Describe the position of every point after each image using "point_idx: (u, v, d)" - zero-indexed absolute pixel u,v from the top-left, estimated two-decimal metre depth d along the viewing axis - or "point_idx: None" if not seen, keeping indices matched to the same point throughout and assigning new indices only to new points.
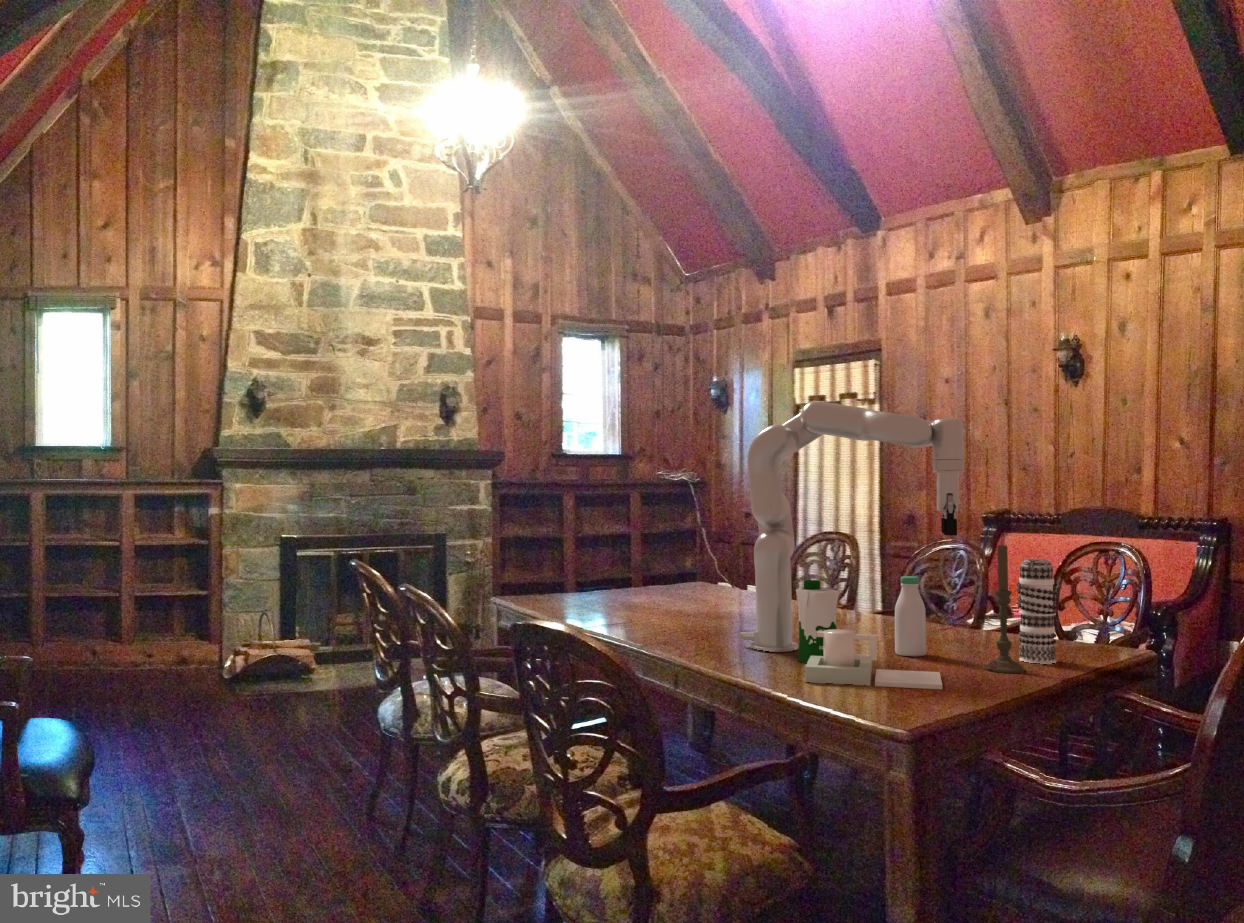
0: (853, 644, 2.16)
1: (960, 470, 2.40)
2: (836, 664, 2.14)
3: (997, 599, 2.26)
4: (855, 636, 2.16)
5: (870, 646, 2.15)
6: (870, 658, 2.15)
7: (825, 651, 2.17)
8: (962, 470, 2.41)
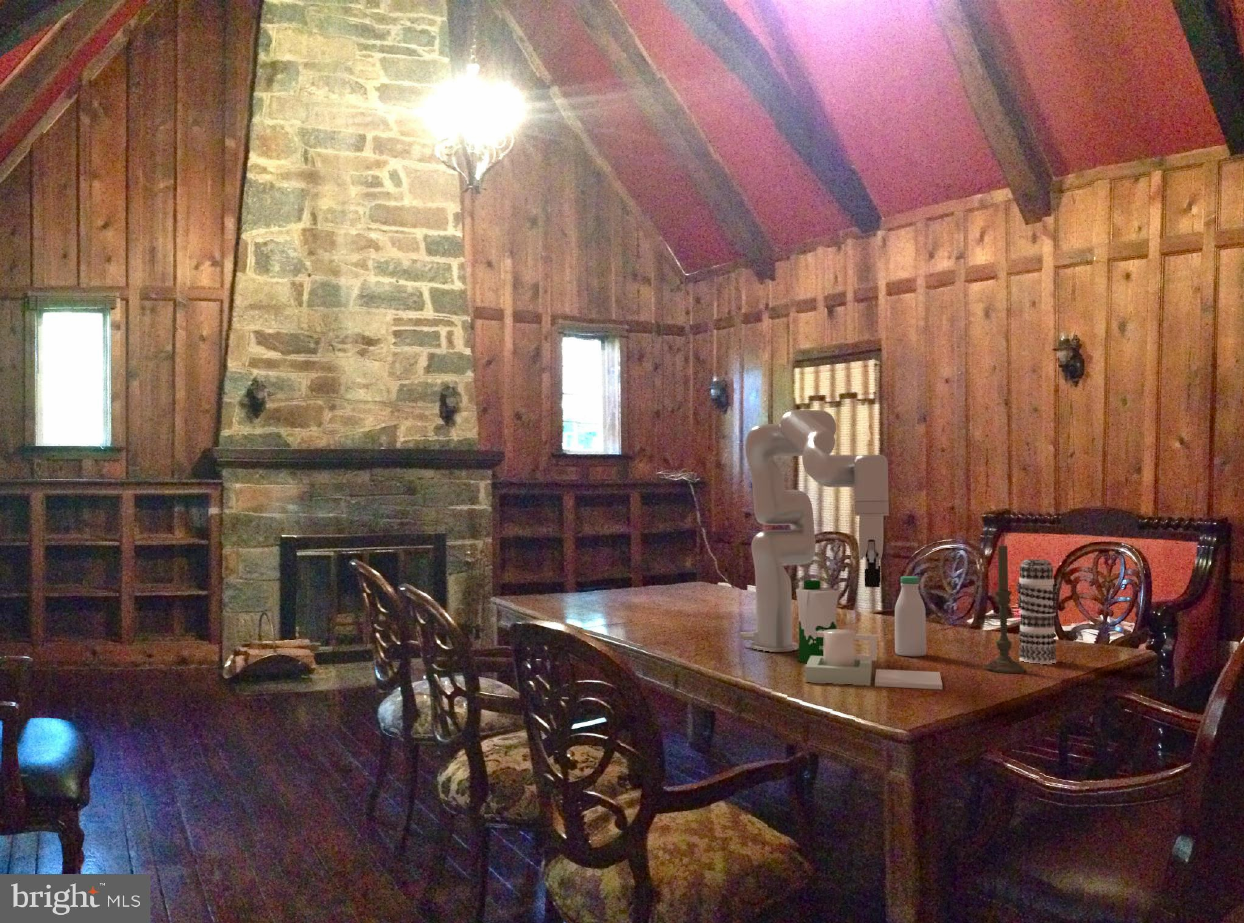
0: (853, 644, 2.16)
1: (884, 513, 2.13)
2: (836, 664, 2.14)
3: (997, 599, 2.26)
4: (855, 636, 2.16)
5: (870, 646, 2.15)
6: (870, 658, 2.15)
7: (825, 651, 2.17)
8: (886, 513, 2.14)
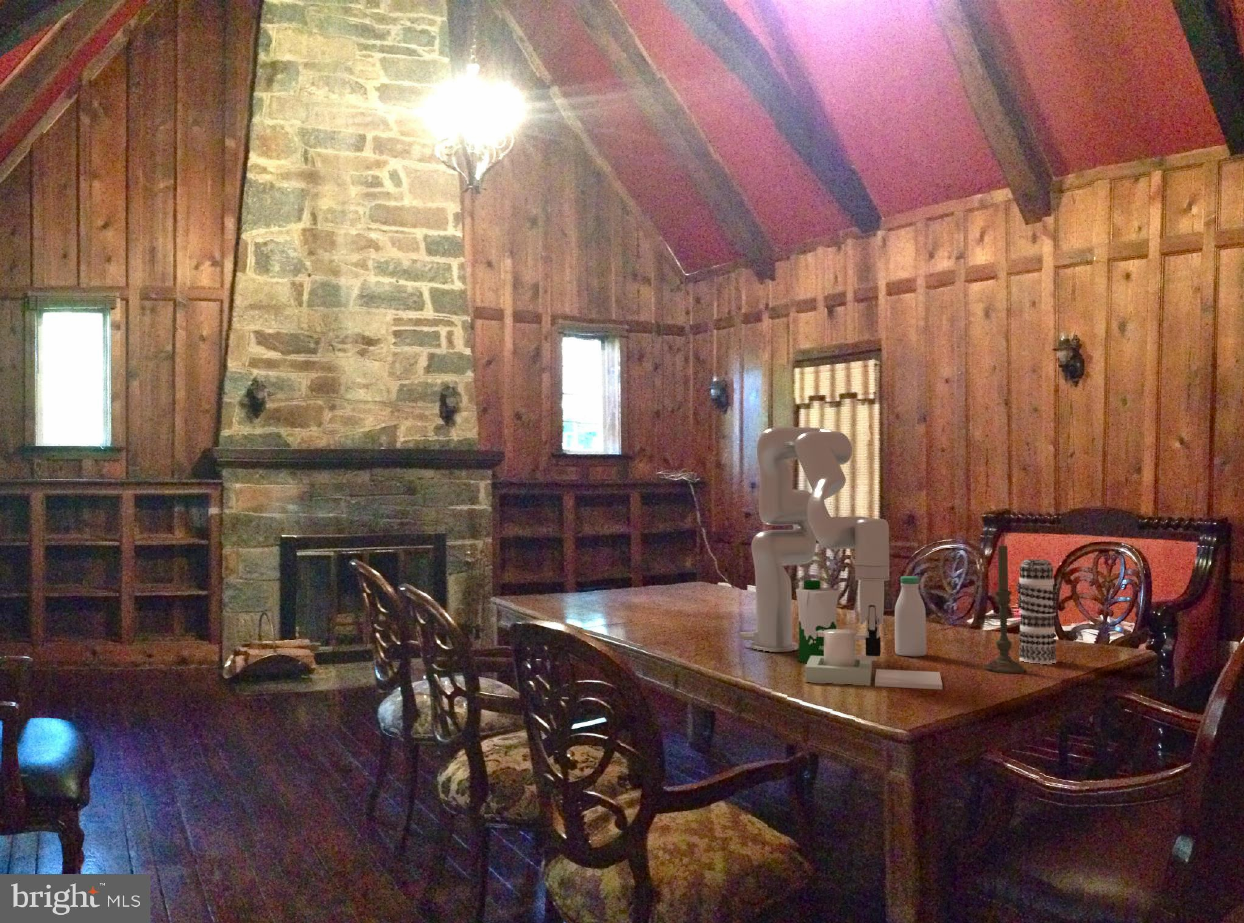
0: (854, 644, 2.16)
1: (884, 578, 2.13)
2: (836, 664, 2.14)
3: (997, 599, 2.26)
4: (856, 636, 2.16)
5: None
6: (870, 658, 2.15)
7: (825, 651, 2.17)
8: (887, 578, 2.13)
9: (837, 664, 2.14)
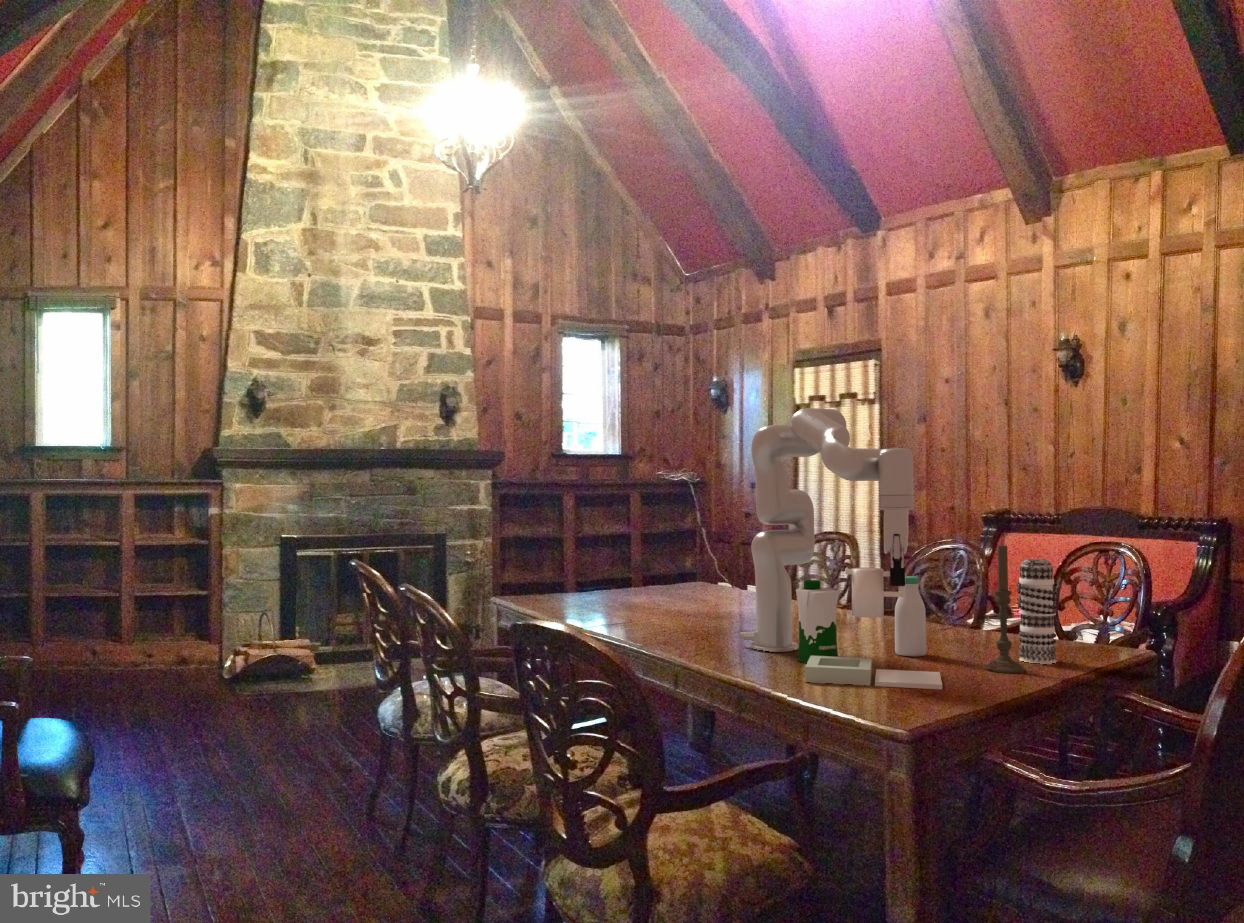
0: (882, 581, 2.14)
1: (909, 507, 2.12)
2: (865, 601, 2.13)
3: (997, 599, 2.26)
4: (884, 573, 2.14)
5: None
6: (899, 595, 2.13)
7: (853, 588, 2.15)
8: (911, 507, 2.12)
9: (865, 601, 2.13)
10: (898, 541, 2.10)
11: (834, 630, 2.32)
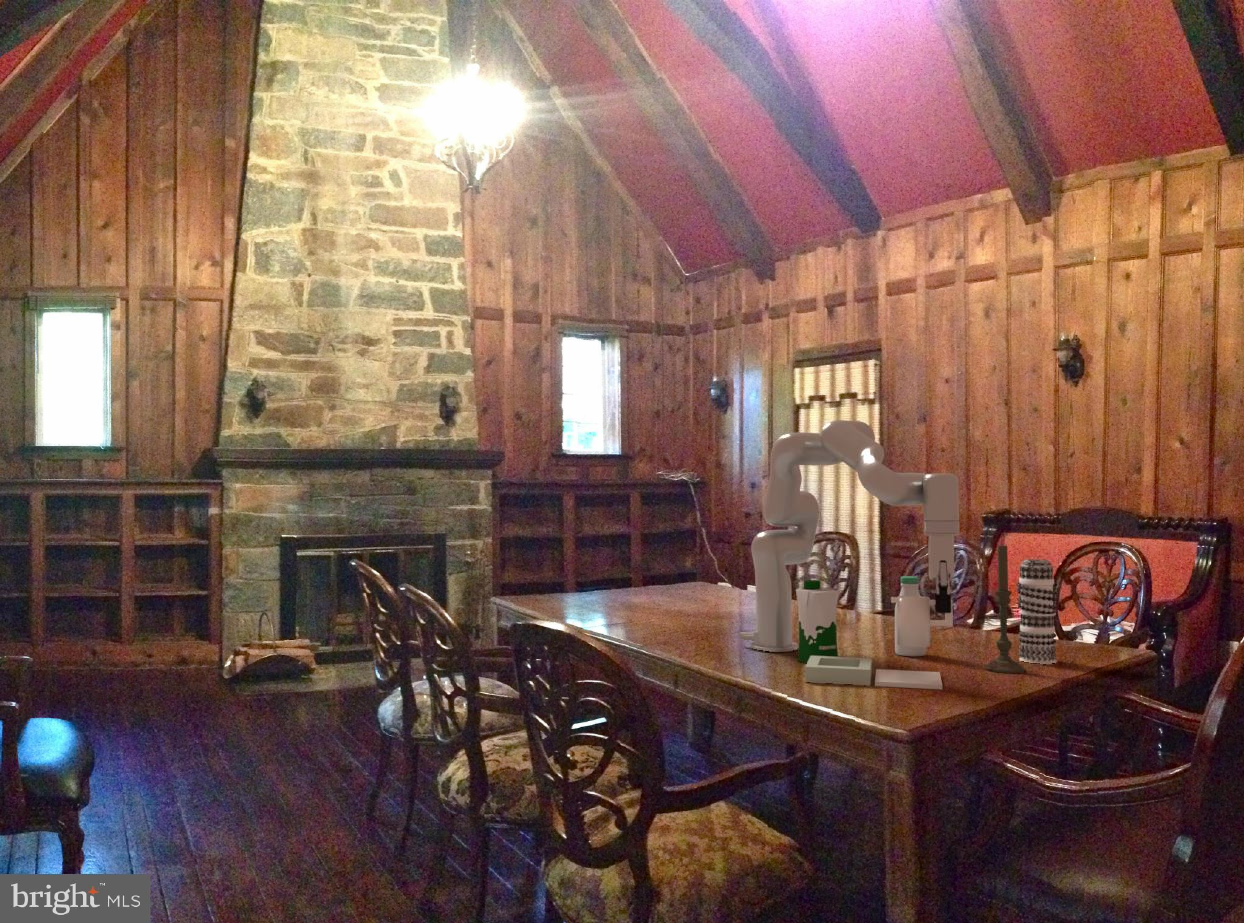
0: (929, 610, 2.11)
1: (955, 533, 2.09)
2: (911, 630, 2.10)
3: (997, 599, 2.26)
4: (930, 601, 2.11)
5: None
6: (946, 624, 2.10)
7: (899, 617, 2.12)
8: (957, 533, 2.09)
9: (912, 630, 2.10)
10: (945, 568, 2.07)
11: (834, 630, 2.32)
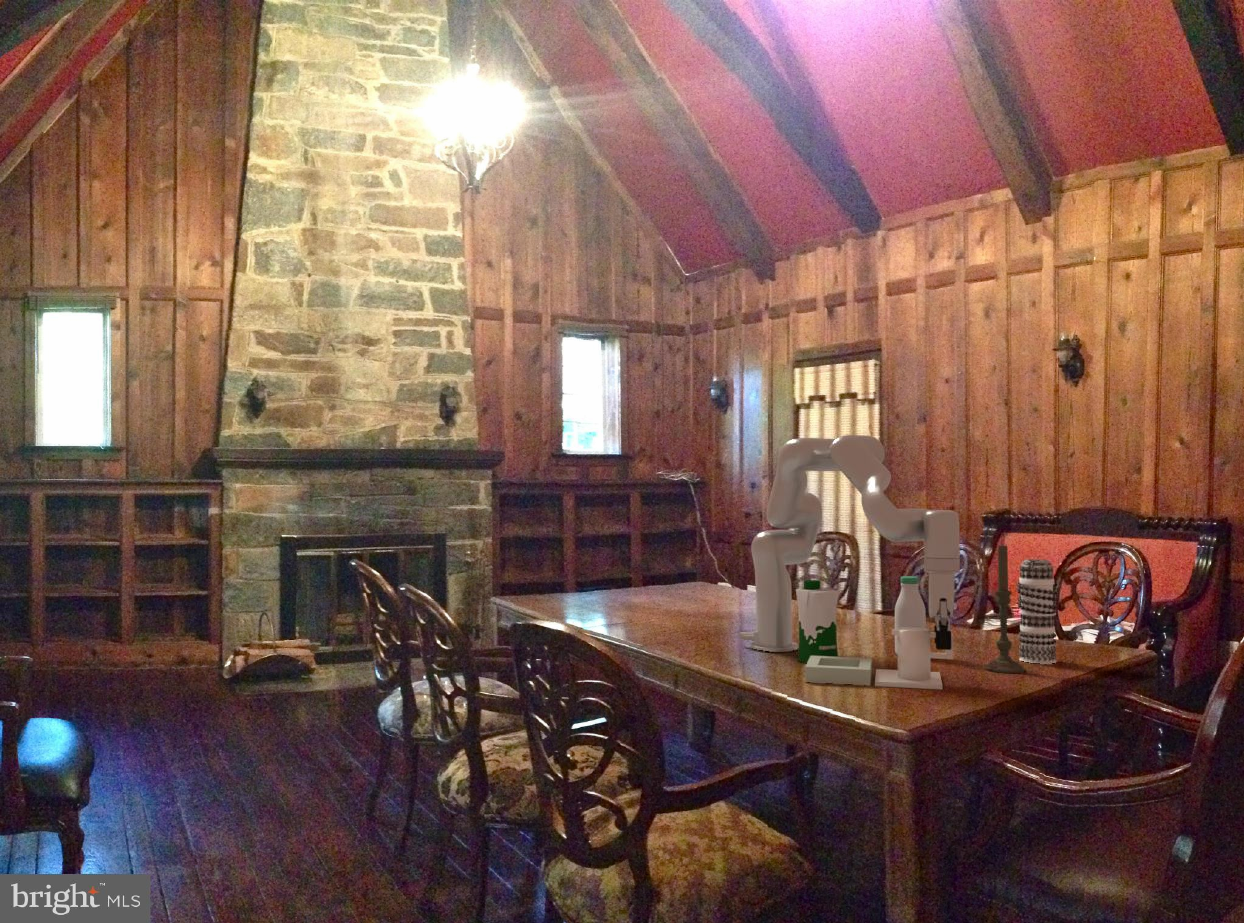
0: (929, 643, 2.11)
1: (955, 571, 2.09)
2: (912, 663, 2.10)
3: (997, 599, 2.26)
4: (931, 634, 2.11)
5: None
6: (947, 657, 2.10)
7: (900, 649, 2.12)
8: (958, 570, 2.09)
9: (913, 663, 2.10)
10: None
11: (834, 630, 2.32)
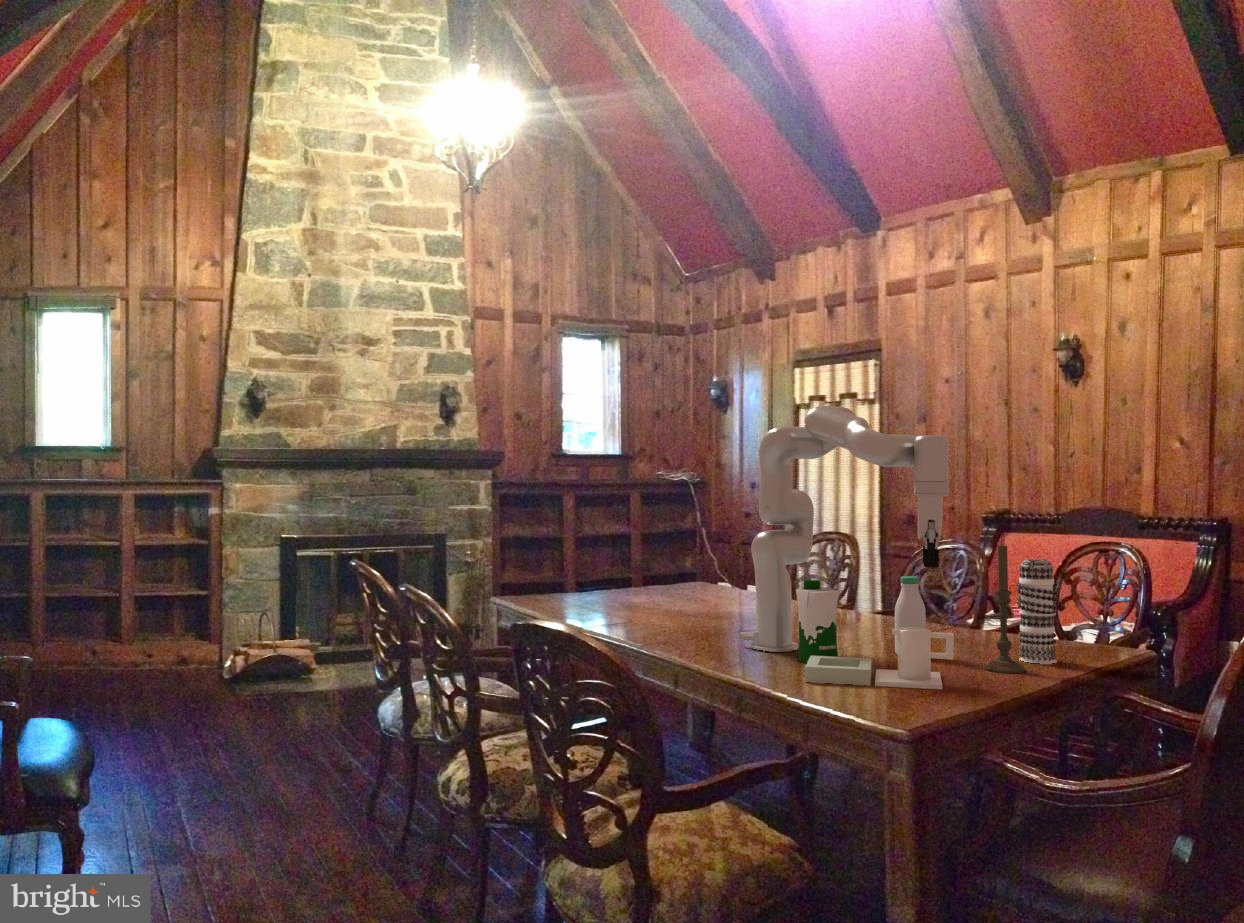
0: (930, 643, 2.11)
1: (944, 493, 2.13)
2: (912, 663, 2.10)
3: (997, 599, 2.26)
4: (932, 634, 2.11)
5: (947, 645, 2.10)
6: (947, 657, 2.10)
7: (900, 649, 2.12)
8: (946, 493, 2.14)
9: (913, 663, 2.10)
10: None
11: (834, 630, 2.32)
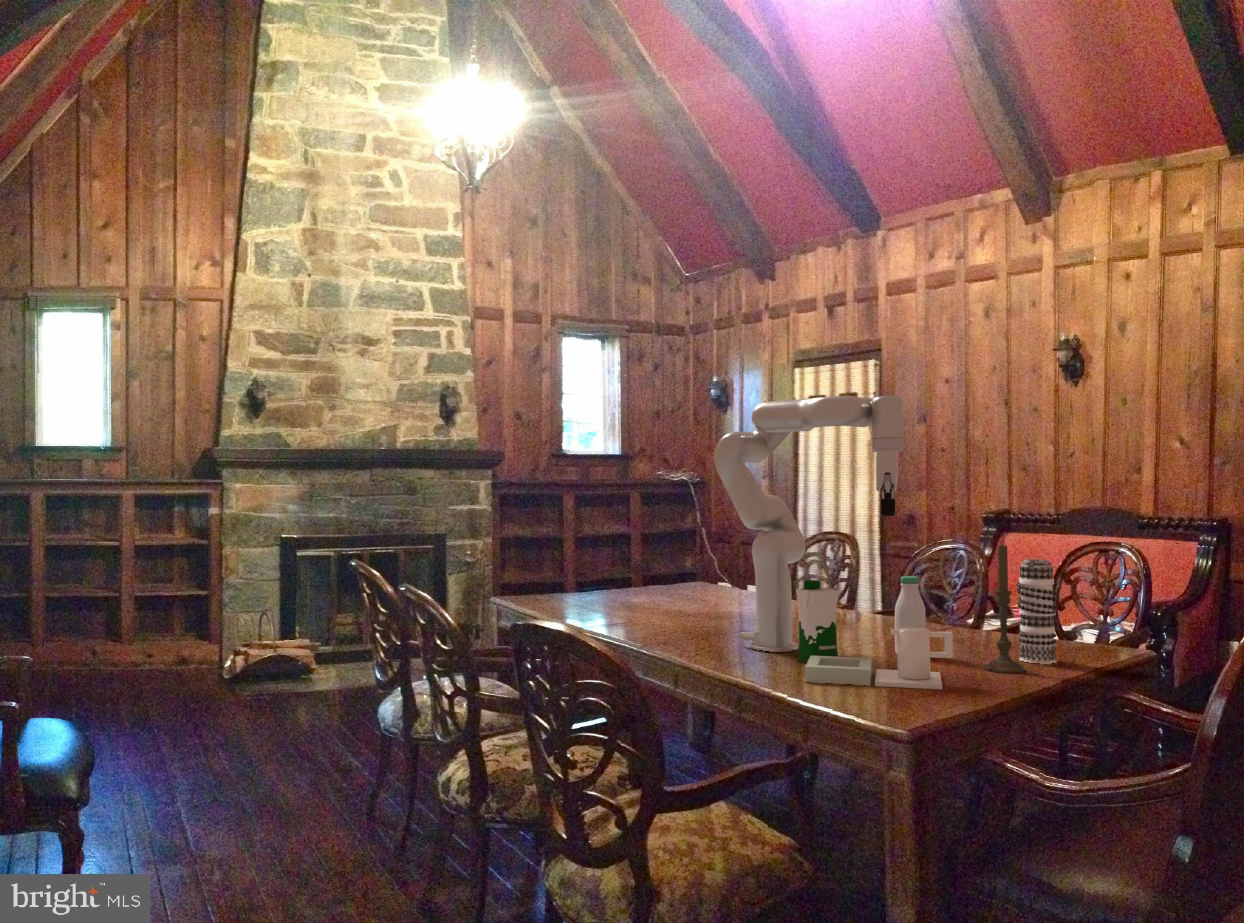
0: (929, 642, 2.12)
1: (899, 449, 2.34)
2: (913, 662, 2.10)
3: (997, 599, 2.26)
4: (931, 633, 2.12)
5: (946, 643, 2.11)
6: (946, 656, 2.11)
7: (900, 649, 2.12)
8: (901, 449, 2.34)
9: (913, 662, 2.10)
10: None
11: (834, 630, 2.32)
